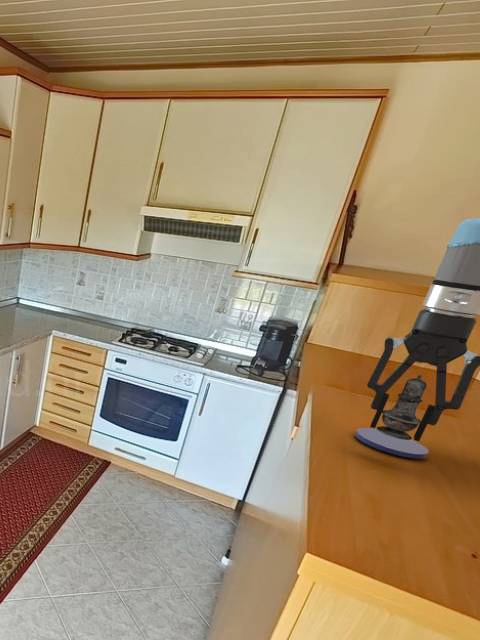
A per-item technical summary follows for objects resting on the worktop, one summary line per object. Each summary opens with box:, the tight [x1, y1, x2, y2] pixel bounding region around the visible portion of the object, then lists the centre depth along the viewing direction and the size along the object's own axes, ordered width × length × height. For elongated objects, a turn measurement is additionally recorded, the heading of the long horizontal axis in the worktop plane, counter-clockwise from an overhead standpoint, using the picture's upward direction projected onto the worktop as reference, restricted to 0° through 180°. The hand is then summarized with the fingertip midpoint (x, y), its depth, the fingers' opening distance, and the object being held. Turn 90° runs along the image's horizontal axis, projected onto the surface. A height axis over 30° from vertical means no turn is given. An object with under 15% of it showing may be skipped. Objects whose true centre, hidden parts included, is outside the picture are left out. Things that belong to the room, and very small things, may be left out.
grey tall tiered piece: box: [376, 373, 428, 440], centre depth 91 cm, size 6×6×12 cm
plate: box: [355, 427, 430, 460], centre depth 103 cm, size 12×12×2 cm
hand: (394, 431), depth 93 cm, fingers closed on grey tall tiered piece, 6 cm apart
